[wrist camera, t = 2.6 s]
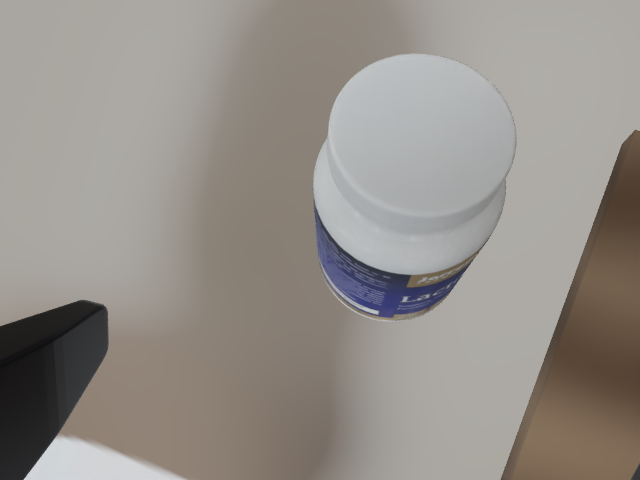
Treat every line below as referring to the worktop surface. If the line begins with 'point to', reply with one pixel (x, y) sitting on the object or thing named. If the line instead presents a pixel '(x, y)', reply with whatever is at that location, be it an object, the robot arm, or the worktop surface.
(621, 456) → the nut base
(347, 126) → the pill bottle
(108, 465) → the worktop surface
